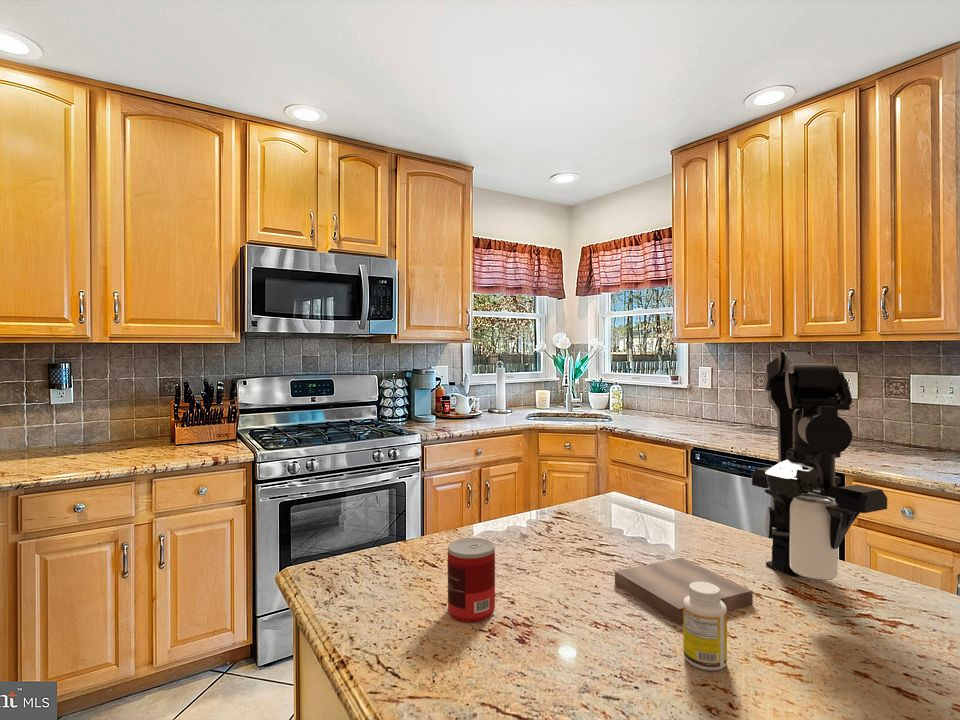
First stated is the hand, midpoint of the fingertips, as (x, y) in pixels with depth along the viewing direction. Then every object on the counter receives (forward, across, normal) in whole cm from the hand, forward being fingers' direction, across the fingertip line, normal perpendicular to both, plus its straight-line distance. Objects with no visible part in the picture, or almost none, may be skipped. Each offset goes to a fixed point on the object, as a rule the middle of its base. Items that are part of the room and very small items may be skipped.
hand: (813, 541), depth 86 cm
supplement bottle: (+12, +2, -25) cm, 28 cm away
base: (+12, -15, -13) cm, 23 cm away
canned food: (+12, -24, -49) cm, 56 cm away
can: (+5, 0, 0) cm, 5 cm away
